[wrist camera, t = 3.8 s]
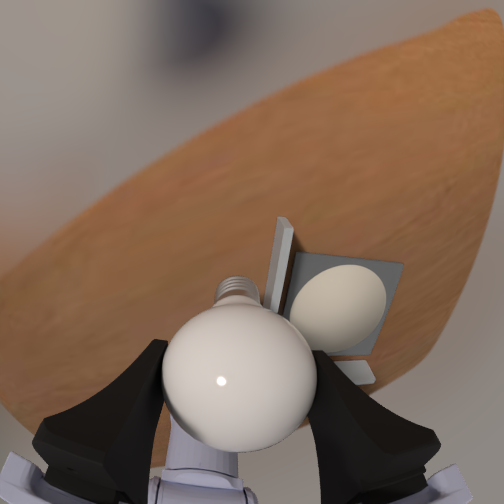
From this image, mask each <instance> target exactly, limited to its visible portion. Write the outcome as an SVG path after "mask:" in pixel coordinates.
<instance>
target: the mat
mask: <svg viewBox="0 0 504 504" xmlns="http://www.w3.org/2000/svg"><path fill="white" fill-rule="evenodd" d="M403 266H404V264H403V263H397V262H388V261H379V260H371V259H362V258H353V257H344V256H335V255H325V254H316V253H307V252H298V251H296V253H295V258H294V263H293V268H292V273H291V278H290V283H289V288H288V292H287V297H286V302H285V306H284V311H283V316H282V317H284V318H285V319H287V320H288V321H289V322H290V323H292V324H293V325H294V326H295V327H296V328H297V329H298V330H299V332H300V333H301V334H302V335H303V337H304V338H305V340H306V341H307V343H308V345H309V347H310V349H311V350H323V351H324V352H325V353H326V354H327V355H328V356H346V355H370V353H371V351H372V349H373V346H374V344H375V342H376V339H377V337H378V335H379V332H380V330H381V328H382V325H383V323H384V320H385V318H386V315H387V312H388V310H389V307H390V304H391V302H392V299H393V296H394V293H395V291H396V288H397V285H398V282H399V279H400V276H401V273H402V269H403Z"/></svg>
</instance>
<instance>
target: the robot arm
mask: <svg viewBox="0 0 504 504" xmlns="http://www.w3.org/2000/svg"><path fill="white" fill-rule="evenodd" d="M167 347H168V341H165V340H158V339H154V340H152V341H151V343H150V344H149V345H148V346H147V348H146V349H145V350H144V351H143V352H142V353H141V354H140V355H139V357H138V358H137V359H136V360H135V361H134V362H133V363H132V364H131V365H130V366H129V367H128V368H127V369H126V370H125V371H124V372H123V373H122V374H121V375H120V376H118V377H117V378H116V379H115V380H114V381H113V382H112V383H110V384H109V385H108V386H107V387H105V388H104V389H103V390H101V391H100V392H98V393H97V394H95V395H94V396H92V397H91V398H89V399H87V400H86V401H84V402H82V403H80V404H78V405H76V406H74V407H72V408H70V409H68V410H66V411H63V412H61V413H58V414H55V415H53V416H50V417H47V418H44V420H43V421H42V423H41V424H40V426H39V428H38V430H37V432H36V434H35V437H34V439H33V441H32V445H33V447H34V449H35V450H36V452H37V453H38V454H39V455H40V456H41V457H42V458H43V460H44V461H45V462H46V463H47V464H48V465H49V466H48V469H47V471H46V474H45V473H43V472H42V471H41V470H40V469H39V467H37V466H36V465H35V464H34V463H32V462H31V461H29V460H27V459H25V458H23V457H22V456H20V455H18V454H16V453H14V452H12V451H11V452H10V453H9V455H8V458H7V460H6V462H5V464H4V467H3V469H2V471H1V474H0V497H1V498H2V499H3V500H5V501H6V502H8V503H9V504H258V500H257V497H256V495H255V494H254V493H253V492H252V491H251V489H250V488H248V487H243V479H238V458H237V452H227V451H222V450H218V449H214V448H211V447H209V446H206V445H204V444H202V443H200V442H199V441H197V440H195V439H194V438H192V437H191V436H190V435H188V434H187V433H186V432H185V431H184V430H183V429H182V428H181V427H180V426H179V425H178V424H177V422H176V421H175V420H174V418H173V417H172V415H171V414H170V417H171V425H172V427H171V433H170V439H169V445H168V452H167V458H166V465H165V469H163V470H162V476H161V478H160V477H157V476H154V477H153V478H152V479H150V480H149V473H150V465H151V456H152V449H153V442H154V436H155V431H156V428H157V424H158V421H159V417H160V414H161V410H162V407H163V403H164V397H163V393H162V388H161V367H162V361H163V358H164V354H165V352H166V349H167ZM311 351H312V353H313V356H314V359H315V363H316V369H317V389H316V394H315V398H314V401H313V404H312V407H311V409H310V411H309V413H308V418H309V422H310V425H311V429H312V432H313V436H314V440H315V444H316V451H317V457H318V467H319V476H320V489H321V504H467V503H468V502H469V501H471V500H472V499H473V497H472V495H471V493H470V491H469V489H468V487H467V485H466V483H465V481H464V479H463V477H462V475H461V473H460V471H459V469H458V467H457V465H456V464H452V465H450V466H449V467H446V468H444V469H442V470H440V471H438V472H437V473H435V474H433V475H432V476H431V477H430V478H429V479H428V480H427V481H426V479H425V477H424V474H423V473H425V472H426V469H425V466H424V465H425V464H426V463H427V462H428V461H429V460H430V459H431V458H432V457H433V456H434V455H435V454H436V453H437V452H438V451H439V449H440V447H441V443H440V441H439V439H438V438H437V436H436V434H435V432H434V431H433V430H432V429H429V428H426V427H423V426H420V425H417V424H415V423H413V422H411V421H408V420H406V419H404V418H402V417H400V416H398V415H396V414H395V413H393V412H391V411H390V410H388V409H386V408H385V407H383V406H382V405H380V404H379V403H377V402H376V401H375V400H373V399H372V398H371V397H369V396H368V395H367V394H366V393H364V392H363V391H362V390H361V389H360V388H359V387H358V386H357V385H356V384H354V383H353V382H352V381H351V380H350V379H349V378H348V377H347V376H346V375H345V374H344V373H343V372H342V370H341V369H340V368H339V367H338V366H337V365H336V364H335V363H334V362H333V361H332V360H331V359H330V357H329V356H328V355H327V354H326V353H325V352H324V351H323V350H311Z"/></svg>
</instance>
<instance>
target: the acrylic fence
mask: <svg viewBox="0 0 504 504" xmlns="http://www.w3.org/2000/svg"><path fill="white" fill-rule="evenodd" d="M293 231H294V228H293V227H292V225H291V224H290V223H289V221H288V220H287V218H286V217H279V216H278V218H277V224H276V230H275V237H274V243H273V249H272V255H271V261H270V267H269V273H268V279H267V285H266V290H265V296H264V302H263V307H264V308H266V309H269V310H271V311H273V312H275V313H278V308H279V304H280V299H281V294H282V289H283V284H284V279H285V274H286V268H287V263H288V258H289V253H290V247H291V242H292V236H293ZM333 362H334V363H335V364H336V365H337V366H338V367H339V368H340V369H341V370H342V372H343V373H344V374H345V375H346V376H347V377H348V378H349V379H350V380H351V381H352V382H353V383H354V384H356V385H362V384H372V383H374V382H375V380H376V379H375V377H374V375H373V373H372V371H371V369H370V367H369V365H368V364H367V362H366V360H355V361H333Z"/></svg>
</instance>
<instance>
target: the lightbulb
mask: <svg viewBox="0 0 504 504" xmlns="http://www.w3.org/2000/svg"><path fill="white" fill-rule="evenodd" d="M161 388H162V393H163V397H164V400H165V403H166V406H167V408H168V410H169V412H170V414H171V415H172V417H173V418H174V420H175V421H176V422H177V424H178V425H179V426H180V427H181V428H182V429H183V430H184V431H185V432H186V433H187V434H188V435H190V436H191V437H192V438H194V439H195V440H197V441H199V442H200V443H202V444H204V445H206V446H209V447H211V448H214V449H218V450H222V451H227V452H239V453H240V452H252V451H258V450H262V449H265V448H268V447H271V446H273V445H275V444H277V443H279V442H281V441H282V440H284V439H285V438H287V437H288V436H289V435H291V434H292V433H293V432H294V431H295V430H296V429H297V428H298V427H299V426H300V425H301V424H302V422H303V421H304V419H305V418H306V416H307V415H308V413H309V411H310V409H311V407H312V404H313V401H314V398H315V394H316V389H317V369H316V363H315V359H314V356H313V353H312V351H311V349H310V347H309V345H308V343H307V341H306V340H305V338H304V337H303V335H302V334H301V333H300V332H299V330H298V329H297V328H296V327H295V326H294V325H293V324H292V323H290V322H289V321H288V320H287V319H285V318H284V317H282V316H281V315H279V314H277V313H275V312H273V311H271V310H269V309H266V308H264V307H263V306H262V305H261V304H260V298H259V291H258V288H257V286H256V284H255V283H254V282H253V281H252V280H250V279H249V278H247V277H244V276H230V277H227V278H225V279H224V280H222V281H221V282H220V283H219V285H218V286H217V289H216V293H215V301H214V305H213V306H212V308H210V309H207V310H205V311H203V312H201V313H199V314H197V315H196V316H194V317H193V318H191V319H190V320H189V321H187V322H186V323H185V324H184V325H183V326H182V327H181V328H180V329H179V330H178V331H177V333H176V334H175V335H174V337H173V338H172V340H171V341H170V343H169V345H168V347H167V349H166V352H165V354H164V358H163V361H162V367H161Z"/></svg>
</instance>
